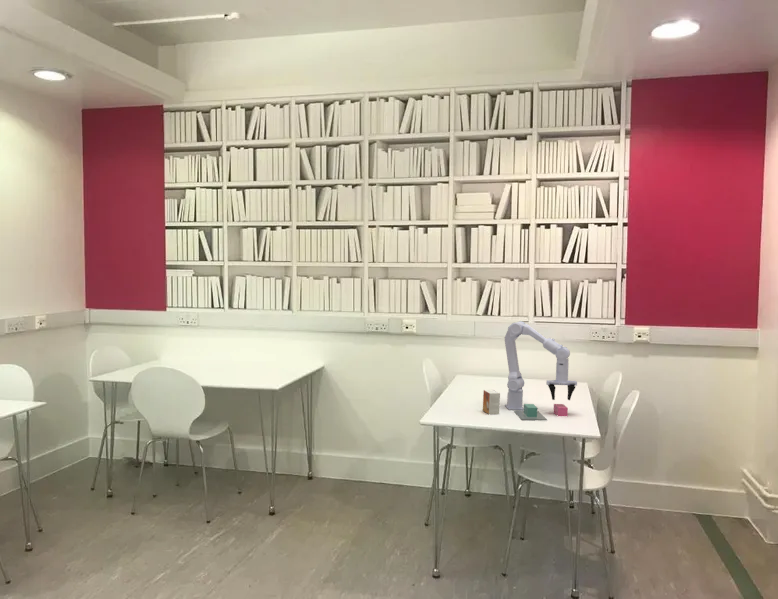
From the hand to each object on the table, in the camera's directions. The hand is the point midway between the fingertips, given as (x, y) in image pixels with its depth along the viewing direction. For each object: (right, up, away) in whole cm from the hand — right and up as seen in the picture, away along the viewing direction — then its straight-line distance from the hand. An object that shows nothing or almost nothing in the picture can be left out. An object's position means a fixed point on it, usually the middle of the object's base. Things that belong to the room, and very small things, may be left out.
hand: (561, 399), depth 306 cm
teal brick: (-16, -7, -5) cm, 18 cm away
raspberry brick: (0, -8, +1) cm, 8 cm away
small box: (-34, -7, +1) cm, 35 cm away
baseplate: (-16, -7, -5) cm, 18 cm away
